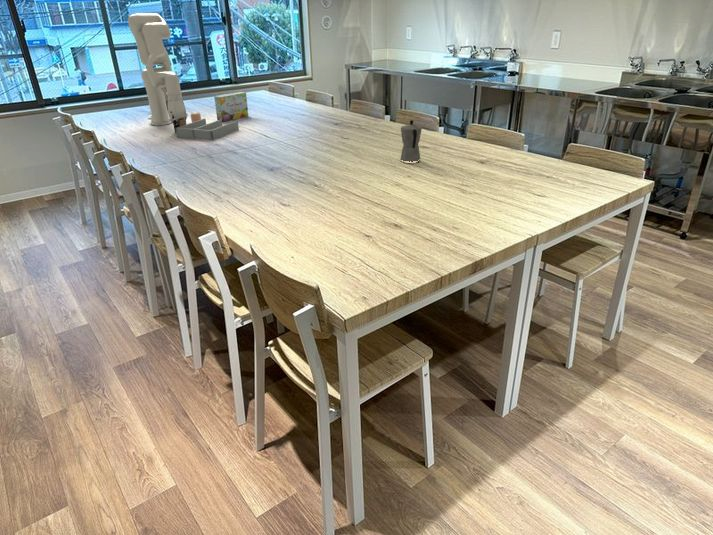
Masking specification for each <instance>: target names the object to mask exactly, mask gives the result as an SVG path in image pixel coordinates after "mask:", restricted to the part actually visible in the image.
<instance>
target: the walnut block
mask: <svg viewBox="0 0 713 535" xmlns="http://www.w3.org/2000/svg"><path fill="white" fill-rule="evenodd" d="M175 121H176V120H175ZM186 124H187V119H183V118H182V119H178V125H179V127H180V126H183V125H186ZM173 129H174V130H173V131H174V133H175V134H176V132H175V128H174V127H173Z"/></svg>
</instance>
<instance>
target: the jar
mask: <svg viewBox="0 0 713 535" xmlns="http://www.w3.org/2000/svg"><path fill="white" fill-rule="evenodd" d="M201 119H202V116H201V113H200V112H199V111H196V112H191V113H190V121H191V123H192V122H195V121H198V120H201Z"/></svg>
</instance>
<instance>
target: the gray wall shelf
mask: <svg viewBox="0 0 713 535" xmlns="http://www.w3.org/2000/svg"><path fill="white" fill-rule="evenodd" d="M175 129H176V133H175V134H176V138H180V139H191V140H204V141H215V140H217V139H219V138H221V137H224V136H227V135H229V134H232V133H234V132H236V131H239V130H240V127H239V120H234V121H231V122H229V123H227V124H224V125H223V122H222V120H217V119H216V120H215V121H212V122H209V123H207V120H206V118H201V120H198V121H195V122H192V121H191V122H190V123H186V125H183V126H180V127H177V128H175Z"/></svg>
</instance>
